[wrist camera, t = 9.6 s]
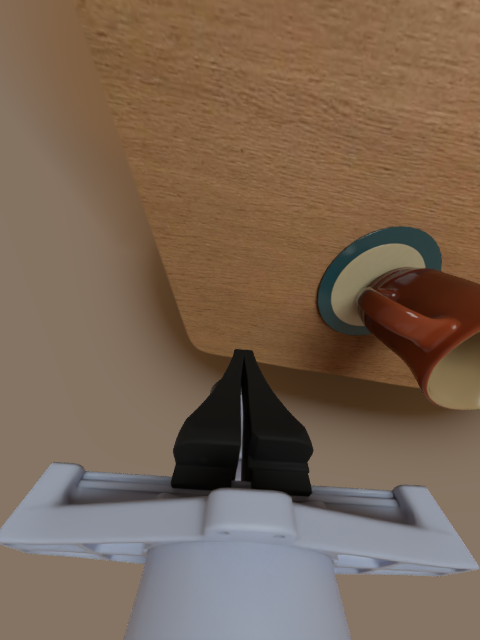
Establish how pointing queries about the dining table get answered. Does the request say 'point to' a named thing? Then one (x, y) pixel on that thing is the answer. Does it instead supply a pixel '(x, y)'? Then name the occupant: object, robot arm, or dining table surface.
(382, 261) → the plate
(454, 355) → the mug
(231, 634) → the robot arm
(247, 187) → the dining table surface
